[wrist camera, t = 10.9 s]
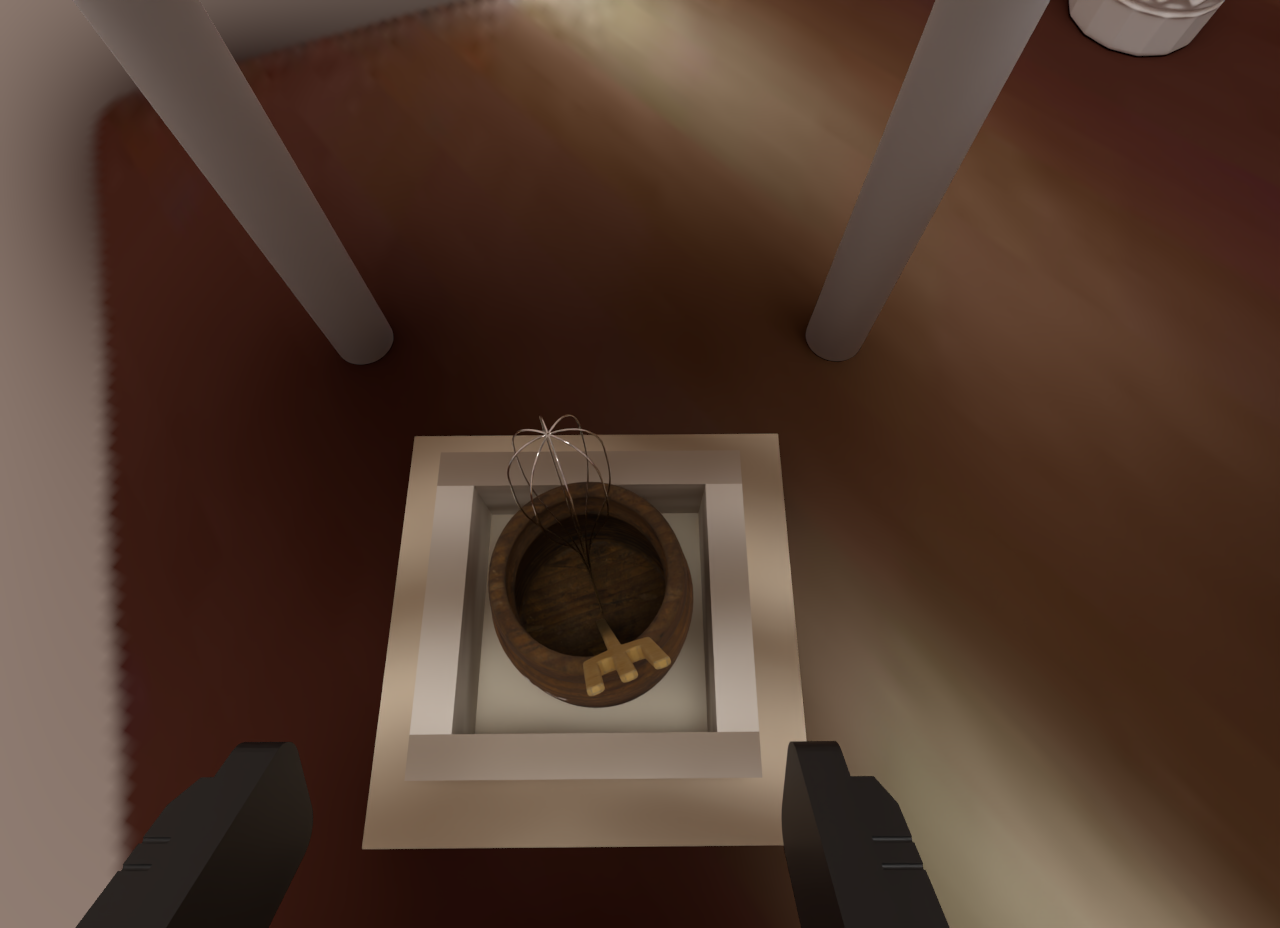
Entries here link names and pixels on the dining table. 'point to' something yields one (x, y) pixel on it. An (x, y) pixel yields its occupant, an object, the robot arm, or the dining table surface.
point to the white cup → (1142, 23)
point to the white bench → (334, 290)
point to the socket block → (573, 735)
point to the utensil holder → (589, 589)
